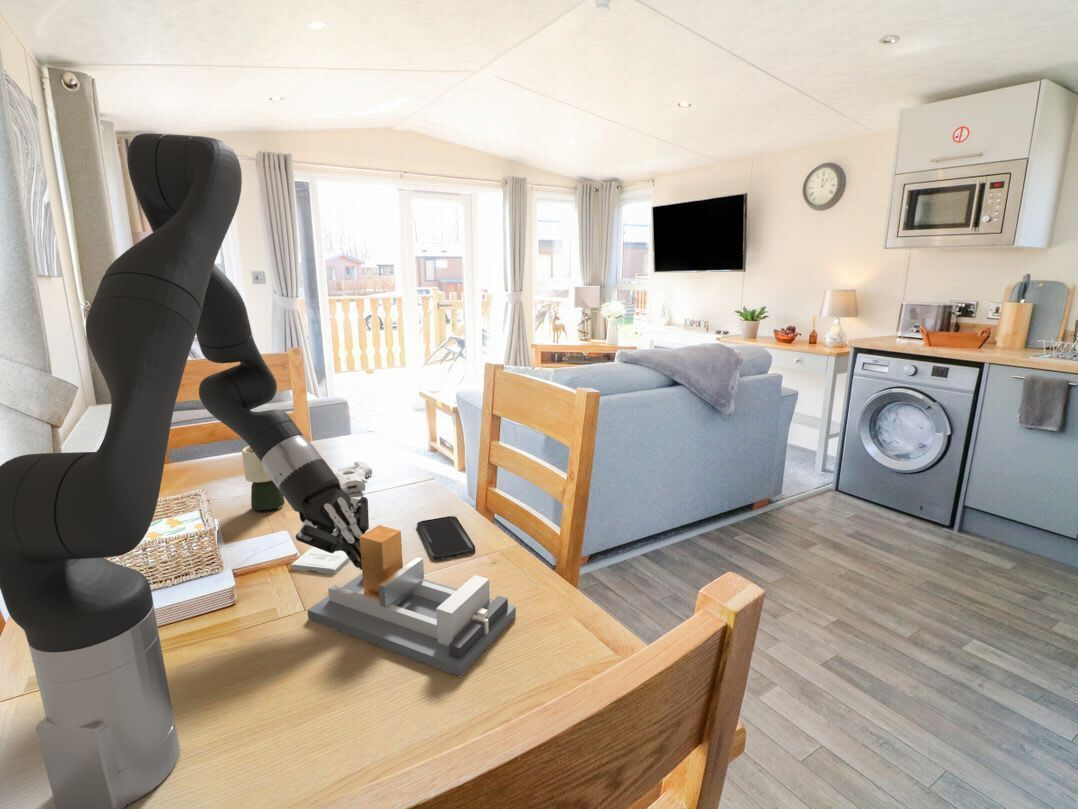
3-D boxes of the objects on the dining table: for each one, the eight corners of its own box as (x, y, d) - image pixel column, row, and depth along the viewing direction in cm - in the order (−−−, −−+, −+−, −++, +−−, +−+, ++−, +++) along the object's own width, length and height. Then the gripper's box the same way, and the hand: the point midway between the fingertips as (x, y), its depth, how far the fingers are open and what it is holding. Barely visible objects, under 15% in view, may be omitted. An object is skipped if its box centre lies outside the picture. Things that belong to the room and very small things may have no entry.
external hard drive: (371, 542, 105) (335, 577, 93) (331, 538, 106) (290, 572, 94) (371, 534, 104) (334, 568, 92) (330, 530, 106) (289, 563, 94)
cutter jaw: (348, 606, 81) (342, 541, 78) (388, 578, 88) (384, 517, 86) (386, 620, 78) (381, 552, 75) (424, 589, 85) (421, 527, 83)
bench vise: (308, 619, 81) (303, 578, 79) (376, 572, 93) (373, 536, 92) (460, 677, 70) (459, 630, 68) (515, 615, 82) (515, 575, 80)
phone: (455, 515, 113) (476, 549, 99) (455, 520, 113) (477, 554, 100) (415, 521, 110) (432, 557, 96) (415, 527, 110) (432, 563, 97)
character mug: (291, 513, 115) (284, 452, 112) (252, 521, 112) (244, 458, 108) (283, 494, 124) (276, 438, 121) (246, 501, 121) (239, 443, 117)
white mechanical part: (381, 476, 126) (334, 484, 121) (383, 490, 127) (336, 500, 122) (364, 456, 142) (322, 463, 137) (365, 469, 142) (323, 477, 138)
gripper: (273, 473, 78) (347, 574, 76) (344, 446, 89) (411, 533, 87) (251, 501, 81) (321, 599, 79) (323, 472, 93) (386, 557, 91)
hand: (368, 565), depth 83 cm, fingers closed
